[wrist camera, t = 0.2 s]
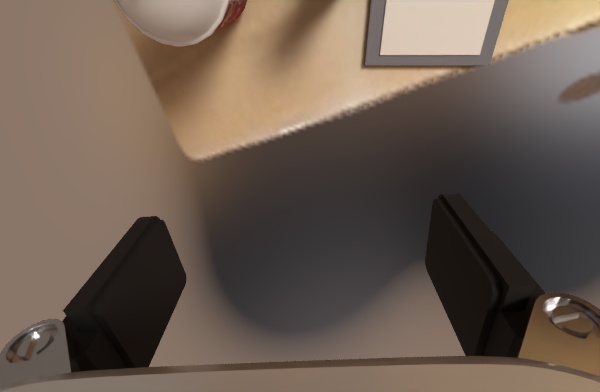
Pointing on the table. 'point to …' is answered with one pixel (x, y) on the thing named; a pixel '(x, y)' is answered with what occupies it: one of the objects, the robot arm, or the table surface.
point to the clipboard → (433, 31)
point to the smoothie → (180, 18)
